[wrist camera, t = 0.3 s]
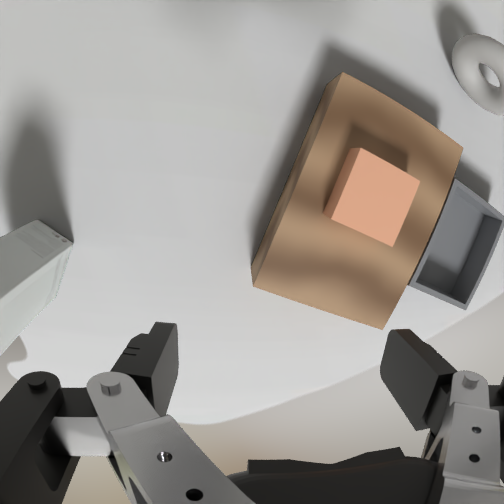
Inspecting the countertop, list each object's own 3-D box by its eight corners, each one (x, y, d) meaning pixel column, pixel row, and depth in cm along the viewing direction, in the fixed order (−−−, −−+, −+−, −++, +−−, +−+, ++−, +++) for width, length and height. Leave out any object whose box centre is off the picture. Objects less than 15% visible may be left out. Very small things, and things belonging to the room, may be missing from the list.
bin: (434, 175, 31) (455, 178, 27) (486, 211, 32) (506, 218, 28) (392, 272, 34) (408, 285, 30) (448, 297, 35) (465, 310, 31)
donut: (489, 109, 28) (545, 105, 19) (476, 122, 29) (535, 121, 19) (446, 41, 26) (498, 19, 16) (431, 52, 27) (485, 30, 17)
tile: (350, 148, 25) (360, 147, 22) (406, 178, 26) (420, 181, 23) (322, 213, 26) (330, 219, 24) (380, 239, 27) (392, 247, 25)
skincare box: (38, 217, 30) (-53, 256, 16) (77, 244, 31) (-6, 299, 17) (21, 277, 32) (-55, 332, 18) (57, 302, 33) (-12, 371, 19)
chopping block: (326, 84, 28) (342, 72, 23) (436, 147, 30) (463, 147, 25) (250, 267, 33) (253, 286, 28) (365, 308, 35) (382, 329, 30)
